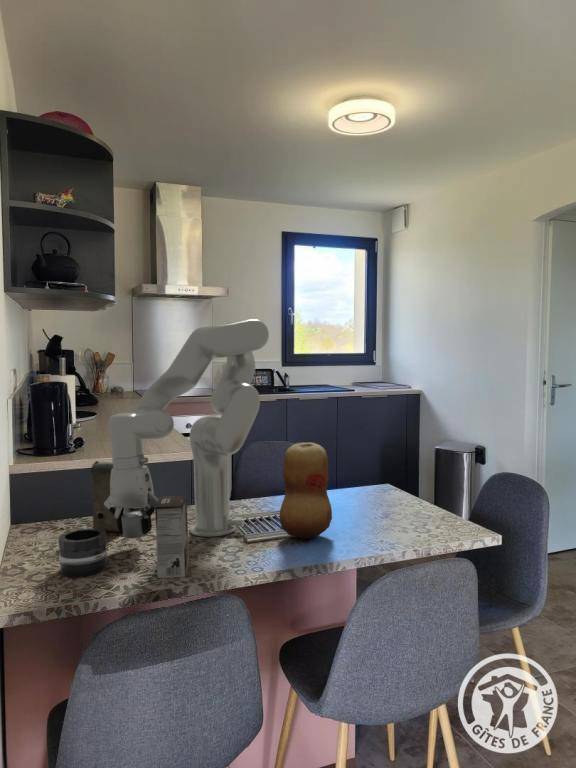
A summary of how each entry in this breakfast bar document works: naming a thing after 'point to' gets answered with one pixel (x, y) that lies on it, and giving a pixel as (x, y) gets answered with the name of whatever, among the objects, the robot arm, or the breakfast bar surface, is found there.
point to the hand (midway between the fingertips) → (135, 531)
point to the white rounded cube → (132, 524)
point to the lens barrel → (82, 552)
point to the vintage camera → (103, 497)
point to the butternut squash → (305, 491)
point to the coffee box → (172, 536)
